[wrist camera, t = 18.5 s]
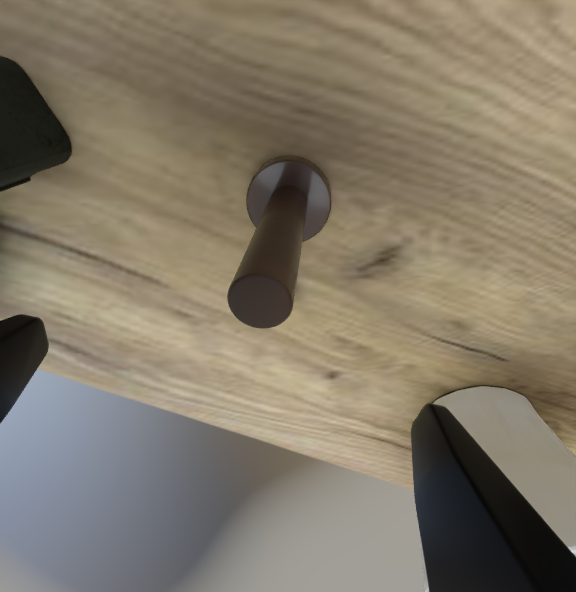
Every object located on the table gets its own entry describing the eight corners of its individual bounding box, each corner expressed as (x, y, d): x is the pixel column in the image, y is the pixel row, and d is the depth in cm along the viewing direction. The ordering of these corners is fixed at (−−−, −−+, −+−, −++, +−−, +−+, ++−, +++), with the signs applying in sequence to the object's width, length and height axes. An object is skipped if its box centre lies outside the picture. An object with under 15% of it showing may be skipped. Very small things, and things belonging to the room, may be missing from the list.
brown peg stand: (341, 167, 18) (354, 257, 9) (318, 243, 20) (311, 370, 12) (257, 145, 17) (191, 217, 9) (244, 225, 20) (183, 340, 11)
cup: (544, 340, 22) (697, 531, 13) (579, 446, 27) (705, 635, 18) (367, 398, 27) (388, 569, 18) (426, 479, 32) (465, 644, 23)
